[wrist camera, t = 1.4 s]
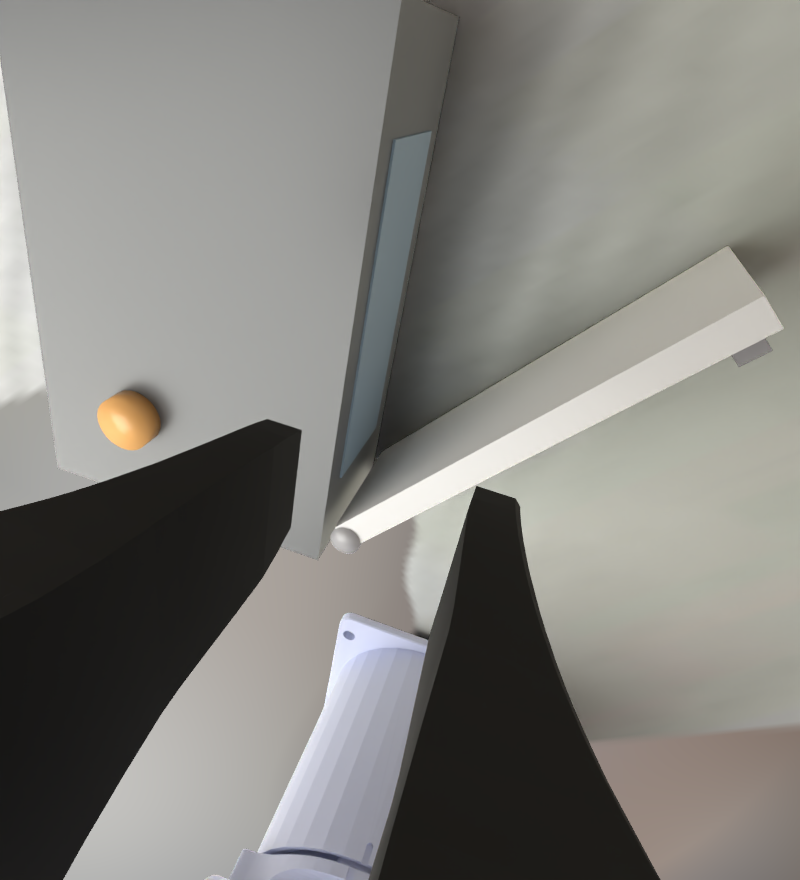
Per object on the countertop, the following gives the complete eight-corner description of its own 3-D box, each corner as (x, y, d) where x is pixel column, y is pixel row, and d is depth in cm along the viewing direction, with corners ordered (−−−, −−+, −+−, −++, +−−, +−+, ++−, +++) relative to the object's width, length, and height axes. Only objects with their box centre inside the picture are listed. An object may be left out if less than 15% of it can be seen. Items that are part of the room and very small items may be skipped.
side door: (397, 486, 22) (353, 568, 19) (373, 456, 22) (323, 534, 18) (754, 290, 16) (798, 354, 12) (727, 245, 16) (764, 296, 12)
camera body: (373, 473, 23) (311, 574, 18) (153, 402, 24) (43, 477, 19) (480, -82, 14) (417, -162, 10) (133, -144, 16) (-70, -242, 11)
